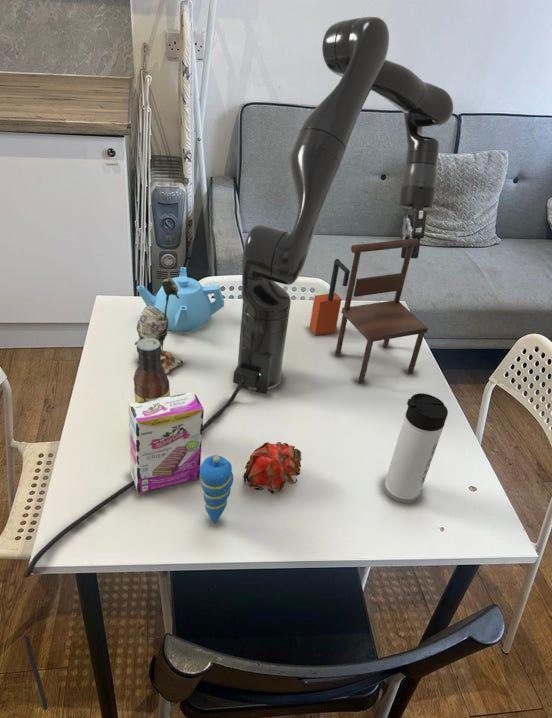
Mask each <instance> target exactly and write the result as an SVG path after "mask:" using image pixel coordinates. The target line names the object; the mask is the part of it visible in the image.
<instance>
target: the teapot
mask: <svg viewBox="0 0 552 718" xmlns="http://www.w3.org/2000/svg"><path fill="white" fill-rule="evenodd" d="M187 272H188V271H187V267H184V266H180V269H179V275H178V276H175V277H172V278H171V279H173V281H174V282H175V284H176V286H177V287H178V292H177V294H178V297H179V299H178V298H177V297H176V296H175V295H172V294H171V295H169V300H168V304H167V312H166V316H167V317H168V329H167V331H172V332H176V333H191V332H195V331H198V330H200V329H201V328H203V327H204V326H206V325H207V324H208V323H209V322H210V320H211V319H212V316H213V315H214V314H215V313H217V312H219V310H221V309H223V308H224V307H225V300H224V296H223V294H222V290H221V288H220V287H221V286H220V284H218V285H216V284H215V285H208V286H207V285H205V286H202V284H201V283H200V281H198V280H196V279H194V278H192V277H188V274H187ZM136 290H137V292H138V294H139V295H140V297H141V299H142V300H143V302H144V304H145V306H147V305H151V306H153V307H155V308H157V309H159V310H161V311H162V312H163V313H165V306H166V294H165V292H164V289H163V286H162V285H161V287H160V289H159V290H158V292H157V293H156V295H153V294H152V293H151V292H150V291H149V290H148V289H147V288H146V287H145V285H138V286H136ZM209 295H213V296H214V300H213V301H212V302H211V299H210V298H209ZM150 302H151V303H150Z"/></svg>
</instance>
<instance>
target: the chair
mask: <svg viewBox="0 0 552 718" xmlns="http://www.w3.org/2000/svg"><path fill="white" fill-rule="evenodd" d="M419 242H420V241H419V240H418V239H417V238H414V239H404V240H401V239H397V240H386V241H379V242H368V243H359V244H353V245H351V247H350V250H351V253H352V254H354V255H353V260H352V266H351V270H350V274H349V279H348V284H347V291H346V296H345V301H344V307H341V308H342V309H341V314H342V316H341V322H340V326H339V331H338V337H337V340H336V341H337V342H336V348H335V352H334V356H336V357H340V356H341V354H342V348H343V343H344V339H345V334H346V329H347V324H348V322H350V324H351V325H352V326H353V327H354V328H355V329H356V330H357V331H358V332H359V333H360V334H361V335H362V336H363V337H364V338H365V340H366V345H365V350H364V353H363V358H362V363H361V366H360V371H359V376H358V380H357V383H358V384H360V385H363V384H364V383H365V379H366V375H367V369H368V365H369V361H370V357H371V352H372V348H373V345H374V343H375V342H380V341H383V343H382V348H384V349H387V348H388V347H389V343H390V340H391V339H398V338H403V337H409V336H415V335H417V337H416V340H415V344H414V346H413V347H414V348H413V351H412V355H411V359H410V362H409V365H408V367H407V374H408V375H413V374H414V371H415V367H416V364H417V361H418V357H419V353H420V350H421V347H422V343H423V340H424V338H425V337H424V336H425V334H427V333H428V329H429V328H428V326H426V325H425V324H424V322H422V321H421V319H419V318H418V317H417V316H416V315H415V314H413V313H412V312H411V311H410V310H409V309H408V308H407V307H406V306H405V305H403V304H402V302H400V301H401V296H402V293H403V288H404V285H405V281H406V278H407V273H408V269H409V265H410V262H411V259H412V258H411V254H412V250H413V246H418V244H419ZM404 247H407V250H406V254H405V258H403V262H402V265H401V271H400V272H399V273H391V274H383V275H376V276H368V277H359V278H357V274H358V269H359V263H360V259H361V254H362V253H369V252H375V251H376V252H377V251H386V250H394V249H402V248H404ZM393 292H395V295H394V298H393V299H394V300H393V299H392V300H387V301H380V302H373V303H367V304H360V305H359V304H358V305H352V306H351V304H352V300H353V297H354V298H357V297H365V296H372V295H377V294H384V293H385V294H386V293H393Z"/></svg>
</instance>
